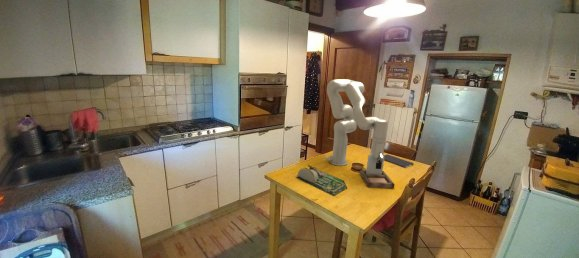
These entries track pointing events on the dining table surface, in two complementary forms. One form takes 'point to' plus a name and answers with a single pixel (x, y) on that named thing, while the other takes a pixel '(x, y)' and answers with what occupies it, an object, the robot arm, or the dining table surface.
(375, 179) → the offcut top
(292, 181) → the dining table surface
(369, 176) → the brown wooden tray
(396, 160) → the notebook
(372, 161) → the acrylic panel
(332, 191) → the green board with half-disc
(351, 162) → the dining table surface
